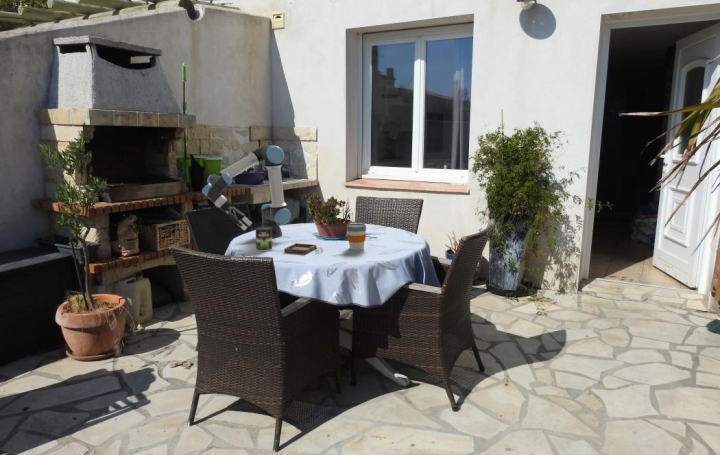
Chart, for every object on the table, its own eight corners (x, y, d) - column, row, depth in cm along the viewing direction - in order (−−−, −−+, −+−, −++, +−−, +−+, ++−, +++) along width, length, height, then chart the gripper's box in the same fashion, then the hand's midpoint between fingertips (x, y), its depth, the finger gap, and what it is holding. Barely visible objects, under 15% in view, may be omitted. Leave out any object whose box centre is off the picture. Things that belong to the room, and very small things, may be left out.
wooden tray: (295, 246, 343) (295, 243, 343) (316, 248, 338) (316, 244, 337) (284, 252, 330) (284, 248, 329) (305, 254, 324) (305, 250, 324)
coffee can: (272, 250, 335) (271, 229, 332) (256, 251, 333) (255, 230, 330) (272, 246, 345) (271, 225, 342) (256, 247, 343) (255, 226, 340)
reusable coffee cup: (349, 251, 330) (349, 228, 326) (344, 246, 341) (344, 224, 338) (368, 249, 333) (368, 226, 330) (363, 245, 345) (363, 222, 342)
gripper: (224, 204, 346) (248, 226, 348) (213, 211, 321) (239, 235, 324) (232, 196, 344) (256, 219, 347) (221, 202, 320) (247, 226, 323)
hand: (248, 226), depth 335 cm, fingers open, 13 cm apart
